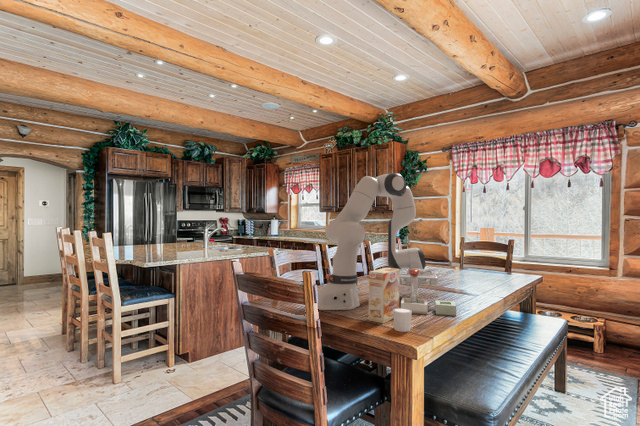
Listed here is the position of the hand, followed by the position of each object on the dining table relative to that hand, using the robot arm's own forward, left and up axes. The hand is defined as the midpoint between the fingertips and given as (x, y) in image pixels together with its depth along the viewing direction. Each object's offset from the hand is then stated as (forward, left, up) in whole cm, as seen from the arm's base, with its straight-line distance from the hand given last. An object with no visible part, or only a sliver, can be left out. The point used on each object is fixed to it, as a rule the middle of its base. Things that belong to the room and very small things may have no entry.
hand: (414, 282), depth 158 cm
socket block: (+10, -9, -12) cm, 17 cm away
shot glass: (-19, -25, -12) cm, 33 cm away
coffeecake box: (-19, -10, -12) cm, 24 cm away
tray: (-1, -2, -12) cm, 12 cm away
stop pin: (-1, -2, -11) cm, 11 cm away
